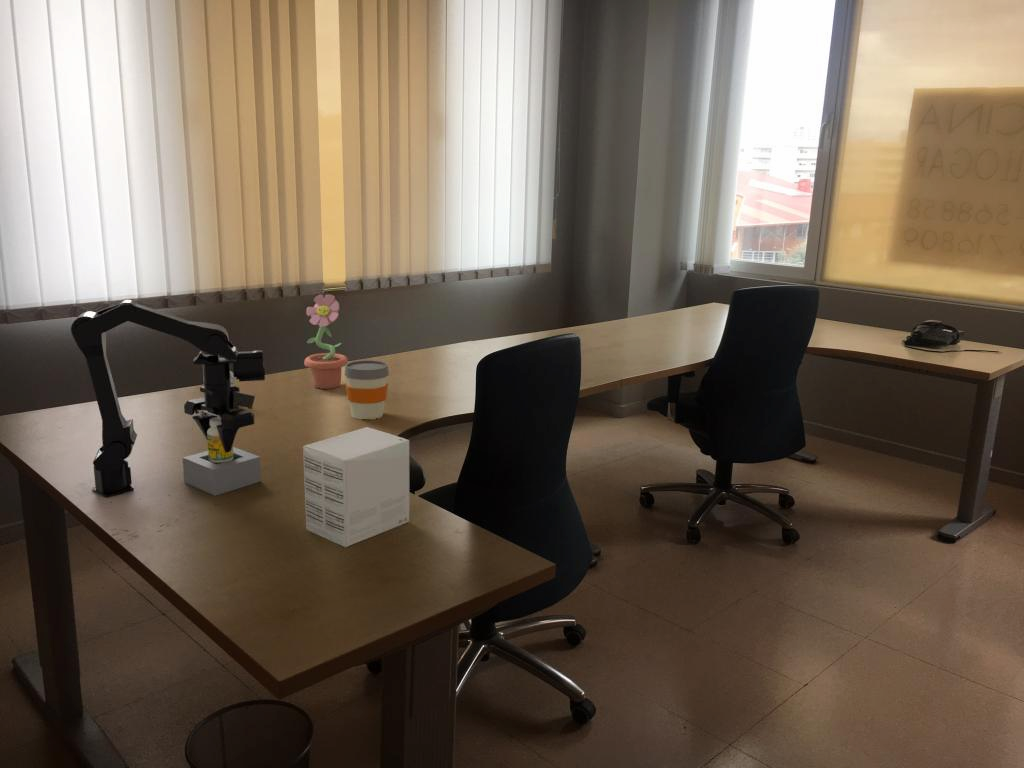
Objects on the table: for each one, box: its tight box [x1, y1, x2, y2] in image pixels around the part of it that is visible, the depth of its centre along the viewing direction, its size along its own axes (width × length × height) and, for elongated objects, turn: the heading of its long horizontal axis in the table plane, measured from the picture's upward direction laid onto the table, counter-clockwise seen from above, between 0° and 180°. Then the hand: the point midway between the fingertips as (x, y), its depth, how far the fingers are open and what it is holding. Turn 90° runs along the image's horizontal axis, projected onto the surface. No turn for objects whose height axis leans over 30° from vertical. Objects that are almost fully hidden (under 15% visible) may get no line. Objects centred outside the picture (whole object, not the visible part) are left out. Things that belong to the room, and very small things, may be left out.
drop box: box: [182, 446, 262, 497], centre depth 199 cm, size 12×12×6 cm
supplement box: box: [302, 426, 410, 548], centre depth 177 cm, size 17×13×18 cm
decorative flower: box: [304, 293, 349, 390], centre depth 281 cm, size 15×14×30 cm
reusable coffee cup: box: [344, 359, 389, 420], centre depth 253 cm, size 13×13×15 cm
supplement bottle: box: [206, 417, 234, 463], centre depth 198 cm, size 5×5×10 cm
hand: (220, 449), depth 198 cm, fingers closed on supplement bottle, 5 cm apart
